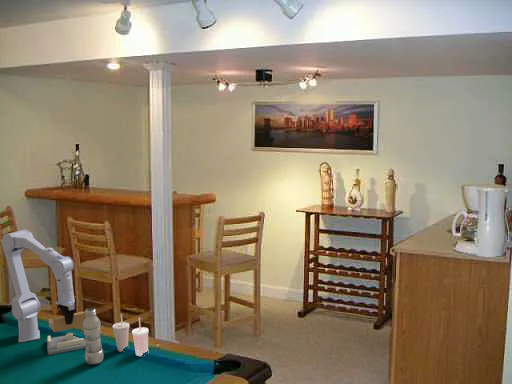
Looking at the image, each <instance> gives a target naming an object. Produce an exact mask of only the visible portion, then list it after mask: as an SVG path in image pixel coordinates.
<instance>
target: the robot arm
mask: <svg viewBox="0 0 512 384" xmlns="http://www.w3.org/2000/svg"><path fill="white" fill-rule="evenodd" d="M0 242H1V245H2V248H3V249H2V250H3V252H4V253H3V254H4V255H5V259H6V264H7V266H8V271H9V274H10V278H11V282H12V286H13V290H14V293H15V296H14V297H13V299H12V301H11V313H12V316H13V317H14V318H15V320H17V323H18V324H17V326H18V332H19V333H18V343H24V342H28V341H30V342H31V341H35V340H36V341H37V340H40V338H41V335H40V329H39V324H38V315H39V311H40V310H41V302H40V301H39V299H38V298H37V294H36V293H34V292H32V291H30V287H29V283H28V279H27V275H26V272H25V269H24V267H25V266H24V264H23V260H22V256H21V253H22V252H23V250H24V249H25V248H27V249H29V250H30V251H32V252H33V253H35V254H36V255H38V256H39V259H40V261H42V262H43V263H45V264H46V265H47V266H49V267H50V268H51V271H52V273H53V275H54V278H55V280H56V289H57V301H55V305H57V307H58V309H59V311H60V313H61V316H64V317H65V321H66V324H67V325H69V324H72V323H73V316H74V313H76V310H77V305H75V301H76V299H75V296H74V285H73V283H74V282H73V274H72V271H73V270H74V268H75V263H74V260H73V258H71V257H70V256H63V255H61V254H60V253H59V252H57V251H56V250H54V248H53V247H45V246H44V245H43V244H41V243H40V242H39V241H38V240H37V239H35V237H34V236H33V233H32V232H30V231H29V230H28V229H25V228H23V229H21V230H17V231H14V232H10V233H5V234H4V235H3V236H2V238H1V240H0Z"/></svg>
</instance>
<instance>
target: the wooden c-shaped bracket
mask: <svg viewBox="0 0 512 384" xmlns="http://www.w3.org/2000/svg"><path fill="white" fill-rule="evenodd" d="M85 317H86V316H85V311H79V312H74V316H73V323H72V324H69V325H67V324H66V321H65V317H64V316H62V315H60V316H56V317H52V318H51V319H49V320H48V326H49V328H50V329H51V330H52V331H53V333H57V332H62V331H67V330H71V329H75V328H79V327H83V326H82V324H83V321H84V319H85Z"/></svg>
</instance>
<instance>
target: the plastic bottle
mask: <svg viewBox="0 0 512 384" xmlns="http://www.w3.org/2000/svg"><path fill="white" fill-rule="evenodd" d="M84 313H85V319H84V321H83V324H82V326H81V327H82V330H83V332H84V335H85V342H86V348H85V353H84V358H85V361H86V363H87V364H88V365H93V366H94V365H98V364H101V362H103V360H104V350H103V347H102V341H101V326H102V325H101V321H100V318H99V317H98V316H97V311H96V307H89V308H86V309H84Z"/></svg>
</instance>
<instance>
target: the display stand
mask: <svg viewBox="0 0 512 384" xmlns="http://www.w3.org/2000/svg"><path fill="white" fill-rule="evenodd" d="M73 334H74V333H73V332H68V333H66V335H62V336H61V335H60V336H55V337H52V336H51V335H47V338H46V347H47V355H48V356H51V355H57V354H62V353H68V352H73V351H77V350H83V349H86V342H85V339H84V338H79V337H76V336H73Z"/></svg>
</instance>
